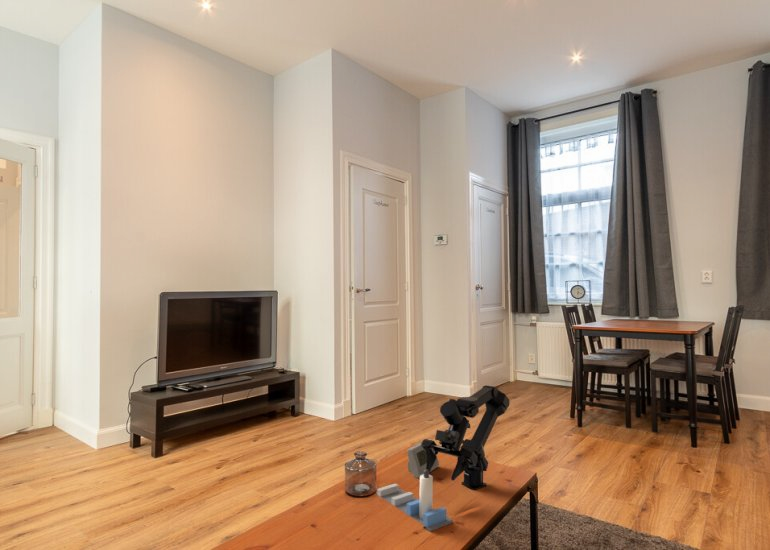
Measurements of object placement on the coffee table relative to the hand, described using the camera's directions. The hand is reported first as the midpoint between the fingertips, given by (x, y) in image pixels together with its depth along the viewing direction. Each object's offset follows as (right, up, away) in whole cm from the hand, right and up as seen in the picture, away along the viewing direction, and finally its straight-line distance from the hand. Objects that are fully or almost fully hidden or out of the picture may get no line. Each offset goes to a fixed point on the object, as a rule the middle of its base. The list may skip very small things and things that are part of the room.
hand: (439, 476), depth 149 cm
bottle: (-5, -9, -7) cm, 13 cm away
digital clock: (-3, -11, +30) cm, 32 cm away
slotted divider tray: (-9, -10, +1) cm, 14 cm away
